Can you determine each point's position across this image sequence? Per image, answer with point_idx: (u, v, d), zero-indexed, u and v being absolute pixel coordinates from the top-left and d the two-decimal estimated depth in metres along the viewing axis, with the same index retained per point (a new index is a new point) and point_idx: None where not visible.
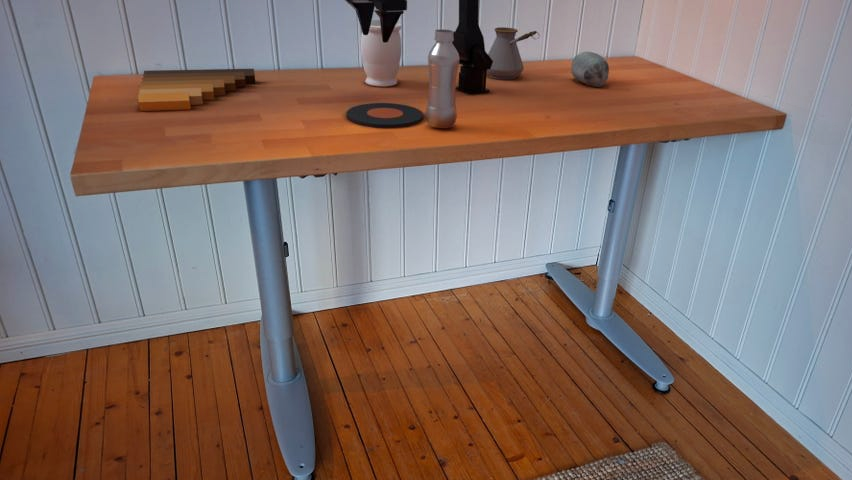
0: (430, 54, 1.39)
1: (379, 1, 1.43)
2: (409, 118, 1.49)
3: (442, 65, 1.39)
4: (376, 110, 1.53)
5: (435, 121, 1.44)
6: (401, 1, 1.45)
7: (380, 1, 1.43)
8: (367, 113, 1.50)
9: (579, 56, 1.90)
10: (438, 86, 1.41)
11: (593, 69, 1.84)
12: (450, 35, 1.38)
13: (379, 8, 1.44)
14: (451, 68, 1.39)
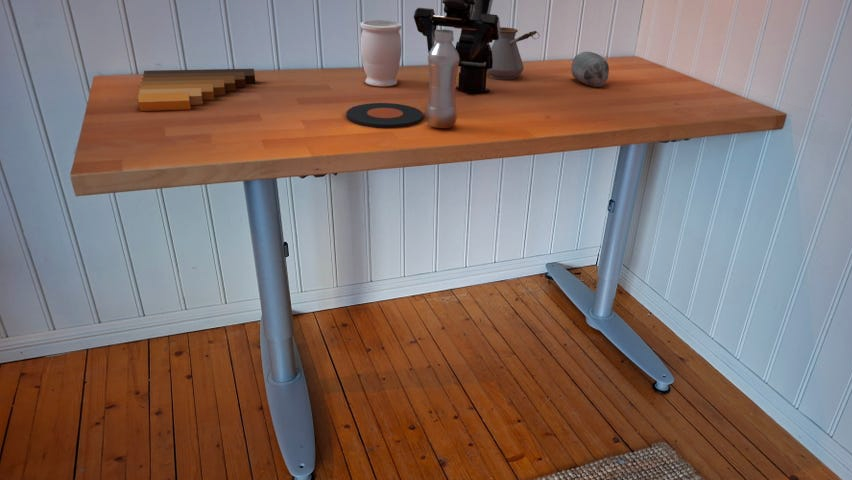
0: (430, 54, 1.39)
1: (490, 15, 1.46)
2: (409, 118, 1.49)
3: (442, 65, 1.39)
4: (376, 110, 1.53)
5: (435, 121, 1.44)
6: None
7: (492, 15, 1.46)
8: (367, 113, 1.50)
9: (579, 56, 1.90)
10: (438, 86, 1.41)
11: (593, 69, 1.84)
12: (450, 35, 1.38)
13: (489, 21, 1.46)
14: (451, 68, 1.39)
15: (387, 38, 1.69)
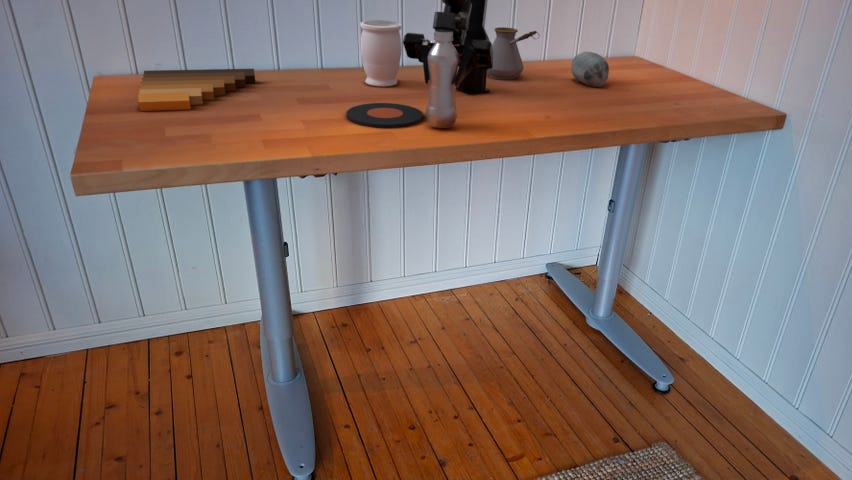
0: (430, 54, 1.39)
1: (483, 41, 1.40)
2: (409, 118, 1.49)
3: (442, 65, 1.39)
4: (376, 110, 1.53)
5: (435, 121, 1.44)
6: (492, 54, 1.44)
7: (485, 41, 1.40)
8: (367, 113, 1.50)
9: (579, 56, 1.90)
10: (438, 86, 1.41)
11: (593, 69, 1.84)
12: (450, 35, 1.38)
13: (482, 47, 1.40)
14: (450, 68, 1.39)
15: (387, 38, 1.69)
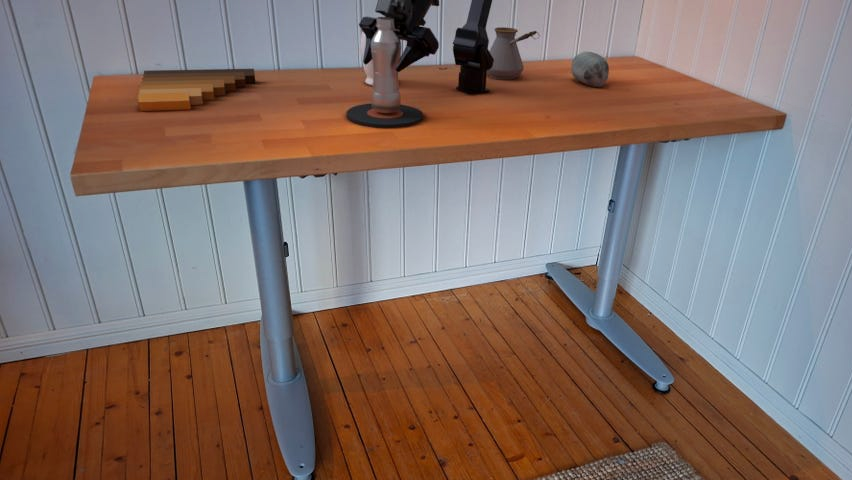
0: (371, 40, 1.44)
1: (421, 28, 1.41)
2: (409, 118, 1.49)
3: (378, 51, 1.43)
4: None
5: (374, 105, 1.49)
6: (436, 42, 1.44)
7: (423, 28, 1.41)
8: (367, 113, 1.50)
9: (579, 56, 1.90)
10: (376, 71, 1.46)
11: (593, 69, 1.84)
12: (388, 22, 1.41)
13: (418, 33, 1.41)
14: (386, 55, 1.43)
15: None
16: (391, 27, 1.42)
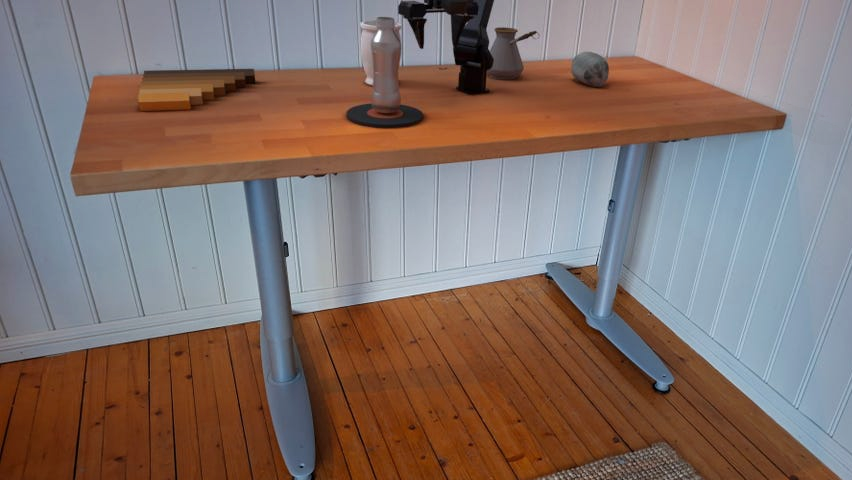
0: (371, 40, 1.44)
1: (474, 7, 1.56)
2: (409, 118, 1.49)
3: (378, 51, 1.43)
4: None
5: (374, 105, 1.49)
6: None
7: (476, 6, 1.57)
8: (367, 113, 1.50)
9: (579, 56, 1.90)
10: (376, 71, 1.46)
11: (593, 69, 1.84)
12: (388, 22, 1.41)
13: (474, 13, 1.57)
14: (386, 55, 1.43)
15: None
16: (391, 27, 1.42)
